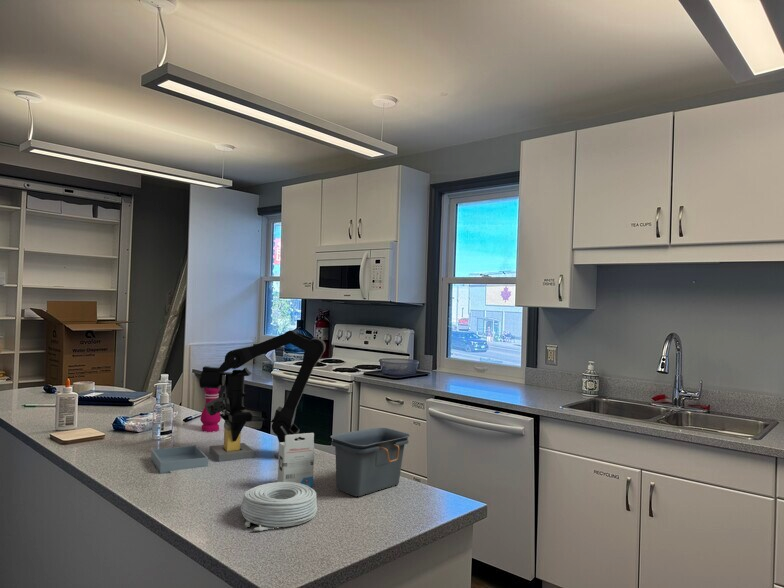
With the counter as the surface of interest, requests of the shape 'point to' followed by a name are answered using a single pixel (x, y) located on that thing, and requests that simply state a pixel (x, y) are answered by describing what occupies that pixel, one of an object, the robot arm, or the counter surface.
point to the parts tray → (178, 458)
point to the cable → (279, 505)
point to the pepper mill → (209, 421)
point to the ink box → (296, 459)
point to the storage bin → (368, 459)
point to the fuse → (230, 439)
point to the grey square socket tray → (231, 453)
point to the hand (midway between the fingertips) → (232, 439)
